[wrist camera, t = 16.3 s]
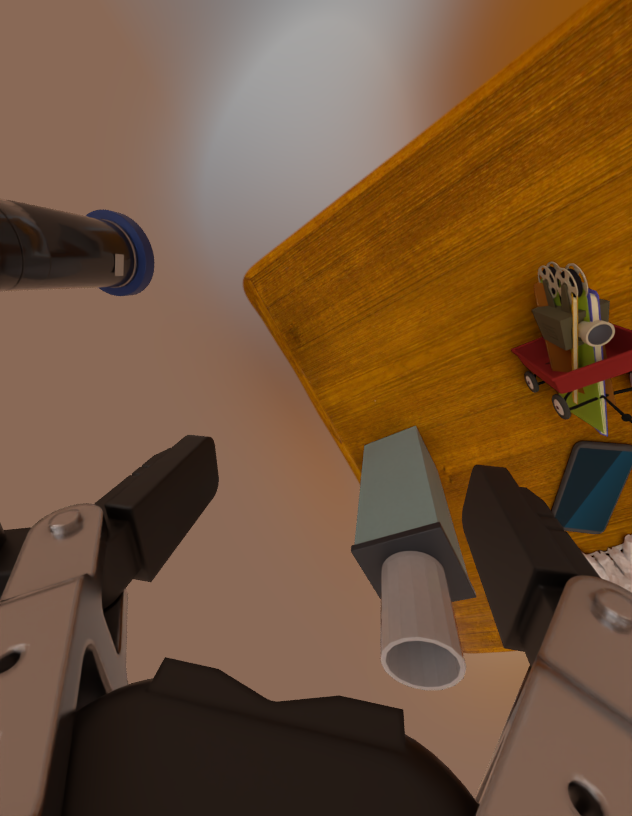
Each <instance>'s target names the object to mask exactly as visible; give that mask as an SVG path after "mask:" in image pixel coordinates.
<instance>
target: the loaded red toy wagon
mask: <svg viewBox="0 0 632 816" xmlns="http://www.w3.org/2000/svg"><path fill="white" fill-rule="evenodd" d="M550 264H553V265H554V268H553V267H551V266H550ZM569 266H573V267H574V270H573V269H569ZM542 267H544V268H545V269H543V271H542V270H541V268H542ZM562 270H564V271H563V272H562ZM560 272H561V274H560ZM579 272H580V273H581V274H582V276H583V278H584V281H585V283H582V282H581V278H580V277H579ZM540 275H541V277H542V279H541V281H540ZM538 279H539V283H536V284H535V285H534V293H535V297H536V302H537V308H534V309H532V312H533V315H534V317H535V319H536V322H537V324H538V326H539V328H540V331H541V333H542V335H543V337H541V338H538V339H536V340H533V341H530V342H528V343H525V344H523V345H520V346H518V347H515V348H513V349H511V351H512V352H513V353H514V354H516V355H517V356H518V357H519V359H520V360H521V362H522V363H523V364H524V365H525V366H526V367H527V368H528V369H529V370H531V371H532V372H533V373H534V375H533V374H532V373H531V372H529V371H527V372H525V374H524V376H525V380H526V383H527V385H528V387H529V388H530V390H531V391H532V392H538V391H539V385H540V384H543V383H545V382H546V383H547V384H549V385H550V386H551V387H552V388H554V389H555V390H556V391H558V392H559V394H555V395H553V397H552V403H553V406H554V408H555V410H556V411H557V413H558V414H559V416H560V417H561V418H563V419H569V418H570V416H571V413H573V414H574V415H576V416H578V417H579V418H581V419H582V420H584V421H585V422H587V423H588V424H590V425H591V426H593V427H594V428H595V429H596V430H597V431H598V432H599V433H600V434H602V435H605V436H607V437H608V427H607V411H606V402H608V403H609V404H610V405H611V406H612V407H613V408H614V409H615V410H616V411H618V412H619V413H620V414H621V415H622V417H621V418H622V420H623V421H630V422H631V423H632V420H631V419H632V416H631V415H629V414H624V413H623V412H622V411H621V410H620V409H618V408H617V407H616V406H615V405H616V403H615V397H614V395H615V394H619V393H623V392H628V391H632V387H631V388H627V389H622V390H618V391H614V392H613V387H612V381H611V378H612V377H615V376H618V375H621V374H624V373H627V372H629V373H632V330H629V329H626V328H623V327H620V326H617V325H614V324H611V323H608V319H609V302H610V301H607V300H603V299H599V295H598V294H597V292H596V291H594V290H592V289H590V288H588V284H587V280H586V277H585V275H584V273H583V272H582V270H581V269H580V268H579V267H578V266H577V265H575V264H569V265H567V266H566V267H565V268H560V267H559V266H558V265H557V264H556V263H555V262H549V263H548V264H547V266H541V267H540V268H539V270H538ZM536 375H537V376H538V377H540V378H541V379H542V380H543V381H541V382H537V380H536Z"/></svg>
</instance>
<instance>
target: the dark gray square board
mask: <svg viewBox="0 0 632 816" xmlns="http://www.w3.org/2000/svg"><path fill="white" fill-rule="evenodd" d="M402 551H418V552H422V553H425V554H428V555H430V556H432V557H433V558H435V559H436V560H437V561H439V563H440V564H441V565H442V567H443V568H444V570H445V574H446V578H447V581H448V586H449V591H450V595H451V600H452V602H454V601H459V600H464V599H470V598H475V597H476V593H475V590H474V588H473V586H472V584H471V582H470V580H469V578H468V575H467V571H466V568H465V564H464V561H463V557H462V554H461V550H460V547H459V543H458V540H457V537H456V533H455V530H454V526H453V523H452V519H451V516H450V512H449V509H448V505H447V502H446V498H445V495H444V492H443V488H442V485H441V481H440V478H439V474H438V471H437V469H436V466H435V464H434V462H433V460H432V458H431V456H430V454H429V452H428V450H427V448H426V446H425V444H424V442H423V440H422V438H421V436H420V433H419V431H418V429H417V427H416V426H414V427H411V428H408V429H406V430H403V431H401V432H398V433H395V434H393V435H390V436H388V437H385V438H382V439H380V440H377V441H375V442H372V443H369V444H367V445H365V446H364V455H363V465H362V475H361V485H360V495H359V505H358V515H357V525H356V535H355V545H352V546H351V552H352V554H353V556H354V557H355V559H356V560H357V562H358V563H359V565H360V567H361V568H362V570H363V572H364V573H365V575H366V576H367V578H368V580H369V581H370V583H371V584H372V586H373V588H374V589H375V591H376V592H377V594H378V596H379V598H380V599H381V568H382V565H383V563H384V562H385V560H386V559H387V558H388V557H390V556H391V555H393V554H395V553H398V552H402Z"/></svg>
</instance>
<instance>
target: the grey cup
mask: <svg viewBox="0 0 632 816" xmlns="http://www.w3.org/2000/svg"><path fill="white" fill-rule="evenodd" d="M381 663H382V665H383V667H384V669H385V671H386V672H387V673H388V674H389V675H390V676H391V677H392V678H394V679H395V680H396V681H398V682H400V683H402V684H404V685H407V686H409V687H413V688H417V689H422V690H443V689H446V688H449V687H452V686H455V685H456V684H457V683H458V682H460V681H461V680H462V679H463V678H464V674H465V671H466V664H465V660H464V655H463V650H462V646H461V641H460V637H459V632H458V627H457V623H456V618H455V614H454V609H453V604H452V600H451V595H450V591H449V586H448V581H447V578H446V574H445V570H444V568H443V567H442V565H441V564H440V563H439V561H437V560H436V559H435V558H433V557H432V556H430V555H428V554H425V553H422V552H418V551H402V552H398V553H395V554H393V555H391V556H390V557H388V558H387V559H386V560H385V562H384V563H383V565H382V568H381Z"/></svg>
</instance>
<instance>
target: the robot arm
mask: <svg viewBox="0 0 632 816" xmlns="http://www.w3.org/2000/svg"><path fill="white" fill-rule="evenodd" d="M137 269H138V255H137V251H136V247H135V245H134V243H133V241H132V239H131V237H130V236H129V234H128V233H127V232H126V231H125V230H124V229H123V228H122V227H121V226H120V225H118V224H117V223H115V222H113V221H110V220H106V219H97V218H92V217H88V216H83V215H78V214H73V213H68V212H64V211H59V210H54V209H49V208H44V207H39V206H35V205H29V204H25V203H20V202H15V201H10V200H5V199H0V291H19V290H43V289H69V288H100V287H112V288H118V287H124V286H126V285H128V284H129V283H131V282H132V280H133V279H134V277H135V275H136V273H137ZM218 482H219V477H218V469H217V460H216V451H215V444H214V440H213V439H212V438H211V437H204V436H195V435H187V436H185V437H184V438H183V439H181V440H180V441H179V442H178V443H177V444H175V445H174V446H173V447H172V448H169V449H167V450H165V451H163V452H161V453H159V454H156V455H154V456H153V457H152V458H150V459H149V460H148V461H147V462H145V464H143V465H142V467H139V468H138V469H137V470H136V471H134V472H133V473H132V476H131V475H130V476H128V477H127V478H126V479H124V480H123V481H122V482H121V483H120V484H118V485H117V486H116V487H115V488H113V489H112V490H111V491H110V492H108V493H107V494H106V495H105V496H103V497H102V498H101V499H100V500H98V501H97V502H96V503H95V504H76V505H72V506H68V507H65V508H62V509H59V510H57V511H55V512H53V513H51V514H49V515H47V516H45V517H44V518H42V519H41V520H39V521H38V522H37V523H36V524H35V525H34V526H33V527H32V528H21V529H12V530H3V528H2V526H1V524H0V816H632V593H631V592H630V591H628V590H626V589H624V588H623V587H621V586H619V585H617V584H614V583H612V582H610V581H607V580H604V579H601V577H600V576H599V575H598V573H597V572H596V571H595V569H594V568H593V567H592V565H591V564H590V563H589V561H588V560H587V559H586V557H585V556H584V555H583V553H582V552H581V550H580V549H579V548H578V546H577V545H576V544H575V542H574V541H573V540H572V538H571V537H570V536H569V534H568V533H567V532H566V531H564V528H563V526H562V525H561V524H560V522H559V521H558V520H557V519H556V518H554V514H553V513H552V511H551V510H550V509H549V507H548V506H547V505H546V503H545V502H544V501H543V500H542V499H540V498H539V497H538V496H536V495H535V494H534V493H533V492H531V491H530V490H529V489H527V488H524V487H519V486H518V485H517V483H516V482H515V480H514V479H513V477H512V476H511V474H510V473H509V471H508V470H507V469H506V468H504V467H494V466H484V465H475V466H474V468H473V470H472V473H471V477H470V481H469V485H468V489H467V494H466V498H465V502H464V506H463V512H462V523H463V529H464V533H465V535H466V538H467V541H468V544H469V547H470V550H471V553H472V556H473V559H474V562H475V565H476V568H477V570H478V573H479V576H480V579H481V582H482V585H483V588H484V591H485V594H486V597H487V600H488V602H489V605H490V608H491V611H492V614H493V617H494V620H495V623H496V626H497V629H498V632H499V635H500V637H501V640H502V643H503V646H504V648H507V649H512V650H518V651H523V652H525V653H526V656H527V658H528V661H529V663H530V666H529V668H528V671H527V673H526V675H525V678H524V680H523V683H522V685H521V687H520V690H519V692H518V695H517V697H516V700H515V702H514V704H513V707H512V710H511V712H510V714H509V717H508V719H507V722H506V724H505V726H504V729H503V731H502V734H501V736H500V739H499V741H498V744H497V746H496V748H495V751H494V754H493V756H492V758H491V761H490V763H489V765H488V767H487V770H486V772H485V775H484V777H483V779H482V781H481V784H480V786H479V789H478V791H477V794H476V796H475V798H473V796H472V795H471V794H470V792H469V791H468V790H467V788H466V787H465V786H464V785H463V784H462V783H461V781H460V780H459V779H458V778H457V777H456V776H455V775H454V774H453V772H452V771H451V770H450V769H449V768H448V767H447V766H446V765H445V764H444V763H443V762H442V761H440V760H439V759H438V758H437V757H436V756H435V755H434V754H433V753H432V752H430V751H429V750H428V749H426V748H425V747H424V746H422V745H421V744H420V743H418V742H417V741H416V740H414V739H412V738H410V737H409V736H407V735H405V731H404V715H403V710H402V709H398V708H394V707H389V706H384V705H380V704H375V703H371V702H366V701H361V700H357V699H353V698H347V697H343V696H331V697H320V698H310V699H300V700H290V701H280V702H275V701H270V700H268V699H266V698H264V697H263V696H261V695H259V694H258V693H256V692H255V691H253V690H252V689H250V688H248V687H247V686H245V685H243V684H242V683H240V682H239V681H237V680H235V679H234V678H232V677H231V676H228V675H227V674H225V673H224V672H222V671H221V670H219V669H216V668H211V667H207V666H202V665H197V664H193V663H188V662H184V661H179V660H175V659H170V658H166V657H165V659H164V660H163V662H162V664H161V666H160V667H159V669H158V671H157V673H156V675H155V676H154V678H153V679H147V680H143V681H139V682H135V683H131V684H129V685H128V681H127V673H126V644H127V643H126V642H127V606H128V605H127V604H128V594H127V590H126V587H127V586H128V584H129V583H130V582H131V581H132V579H136V580H142V581H148V582H151V581H152V580H153V579H154V577H155V576H156V575H157V573H158V572H159V571H160V569H161V568H162V567H163V565H164V564H165V563H166V561H167V560H168V558H169V557H170V556H171V554H172V553H173V552H174V550H175V549H176V547H177V546H178V545H179V544H180V542H181V541H182V539H183V538H184V537H185V535H186V534H187V533H188V531H189V530H190V529H191V527H192V526H193V525H194V523H195V522H196V520H197V519H198V517H199V516H200V515H201V514H202V512H203V511H204V510H205V508H206V507H207V505H208V504H209V503H210V501H211V500H212V499H213V497H214V496H215V494H216V491H217V488H218Z"/></svg>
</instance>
